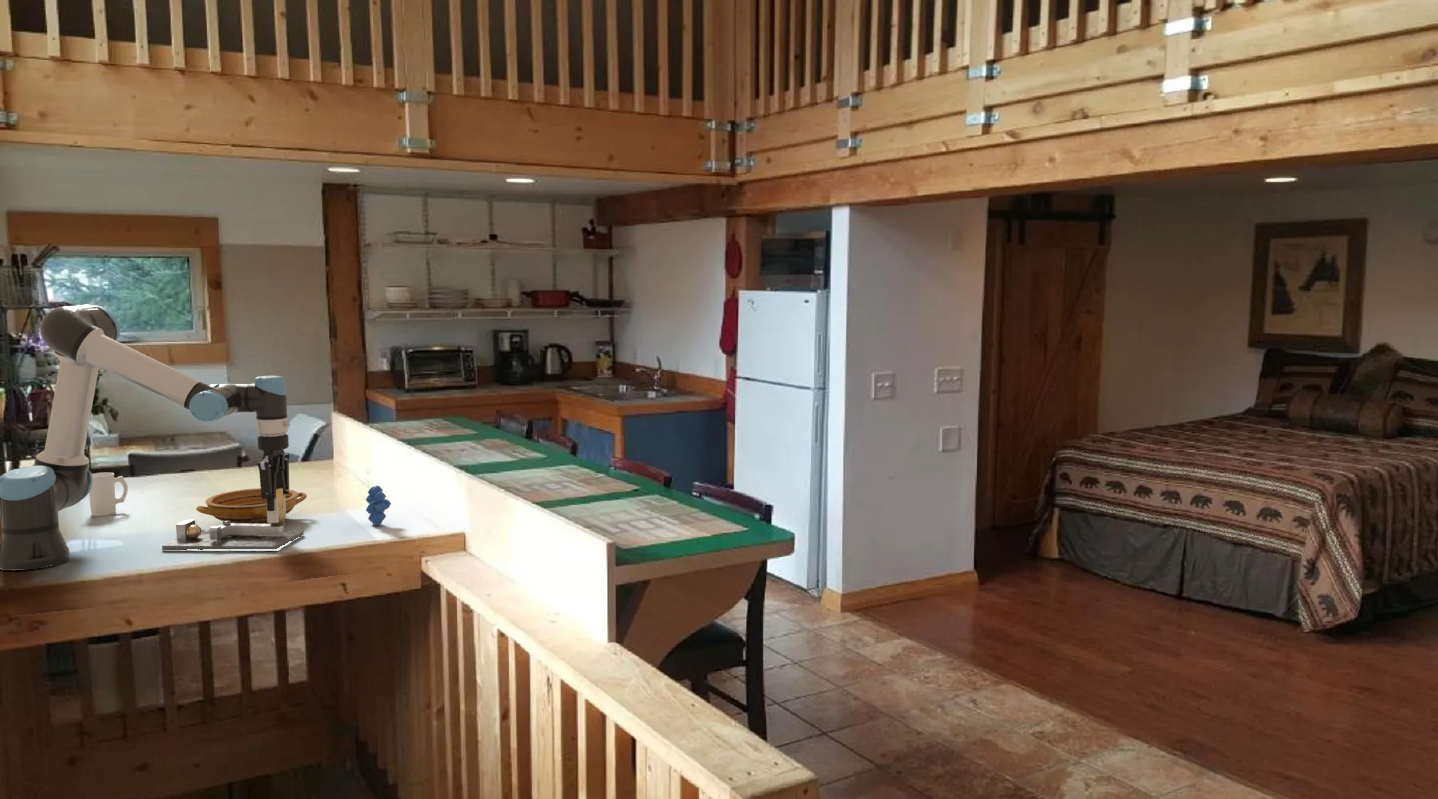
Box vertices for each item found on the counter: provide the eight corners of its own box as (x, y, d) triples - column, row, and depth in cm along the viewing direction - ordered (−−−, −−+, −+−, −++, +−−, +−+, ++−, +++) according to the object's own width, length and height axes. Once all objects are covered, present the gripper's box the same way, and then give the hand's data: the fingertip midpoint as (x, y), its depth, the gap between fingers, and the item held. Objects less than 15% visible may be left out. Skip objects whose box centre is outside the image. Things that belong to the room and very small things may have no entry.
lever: (272, 540, 259) (269, 494, 258) (210, 539, 260) (207, 493, 258) (287, 532, 267) (285, 487, 266) (227, 531, 268) (224, 486, 267)
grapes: (399, 527, 282) (397, 486, 280) (375, 531, 277) (373, 489, 276) (385, 519, 291) (383, 479, 289) (361, 523, 287) (360, 482, 285)
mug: (91, 517, 291) (88, 477, 290) (88, 513, 297) (85, 474, 295) (131, 512, 298) (128, 473, 296) (127, 508, 303) (124, 470, 301)
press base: (277, 552, 257) (275, 531, 256) (162, 551, 257) (161, 530, 256) (303, 535, 272) (302, 516, 272) (195, 535, 273) (194, 515, 272)
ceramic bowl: (208, 541, 267) (206, 512, 266) (187, 523, 285) (186, 496, 284) (320, 523, 286) (319, 496, 285) (294, 508, 304) (293, 482, 303)
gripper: (272, 439, 254) (276, 528, 257) (300, 429, 271) (304, 513, 273) (243, 438, 254) (247, 527, 257) (273, 429, 271) (277, 512, 274)
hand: (276, 520), depth 265 cm, fingers closed on lever, 4 cm apart
